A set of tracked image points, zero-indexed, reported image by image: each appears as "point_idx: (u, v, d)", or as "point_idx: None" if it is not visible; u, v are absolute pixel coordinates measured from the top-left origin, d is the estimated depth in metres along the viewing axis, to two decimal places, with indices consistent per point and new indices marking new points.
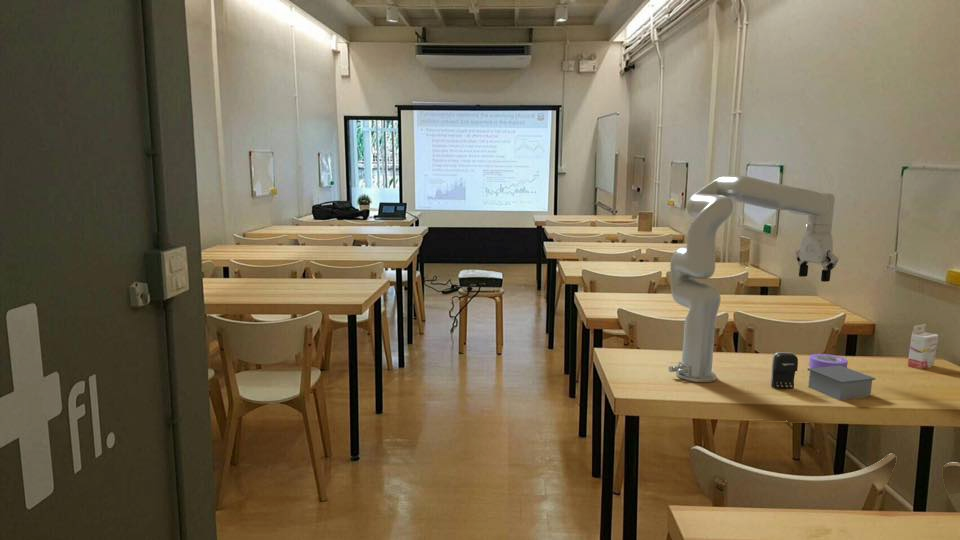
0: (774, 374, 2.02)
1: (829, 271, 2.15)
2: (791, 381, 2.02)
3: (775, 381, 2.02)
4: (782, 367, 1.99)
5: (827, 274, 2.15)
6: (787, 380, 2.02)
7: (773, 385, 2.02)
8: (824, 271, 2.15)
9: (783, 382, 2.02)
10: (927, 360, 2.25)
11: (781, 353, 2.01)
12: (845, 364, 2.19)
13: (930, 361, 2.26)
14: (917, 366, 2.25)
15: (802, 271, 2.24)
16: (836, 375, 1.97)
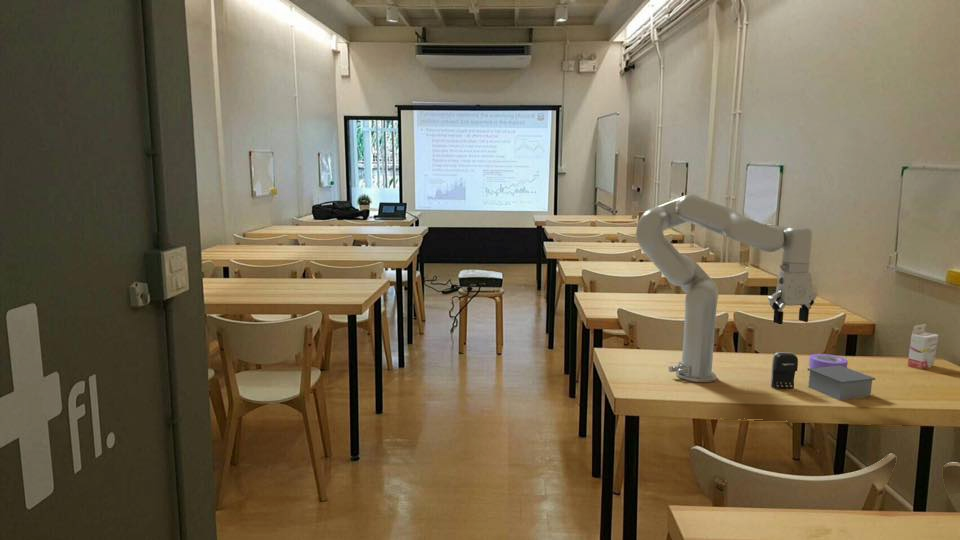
0: (774, 374, 2.02)
1: None
2: (791, 381, 2.02)
3: (775, 381, 2.02)
4: (782, 367, 1.99)
5: None
6: (787, 380, 2.02)
7: (773, 385, 2.02)
8: None
9: (783, 382, 2.02)
10: (927, 360, 2.25)
11: (781, 353, 2.01)
12: (845, 364, 2.19)
13: (930, 361, 2.26)
14: (917, 366, 2.25)
15: None
16: (836, 375, 1.97)
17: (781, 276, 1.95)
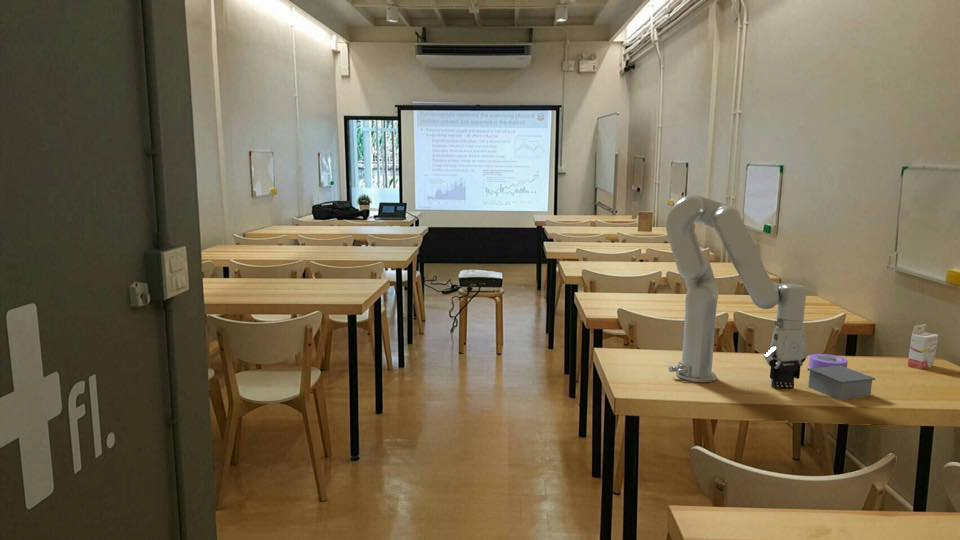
0: None
1: None
2: (791, 381, 2.02)
3: (775, 381, 2.02)
4: (782, 367, 1.99)
5: None
6: (787, 380, 2.02)
7: (773, 385, 2.02)
8: None
9: (783, 382, 2.02)
10: (927, 360, 2.25)
11: None
12: (845, 364, 2.19)
13: (930, 361, 2.26)
14: (917, 366, 2.25)
15: None
16: (836, 375, 1.97)
17: (776, 332, 1.98)
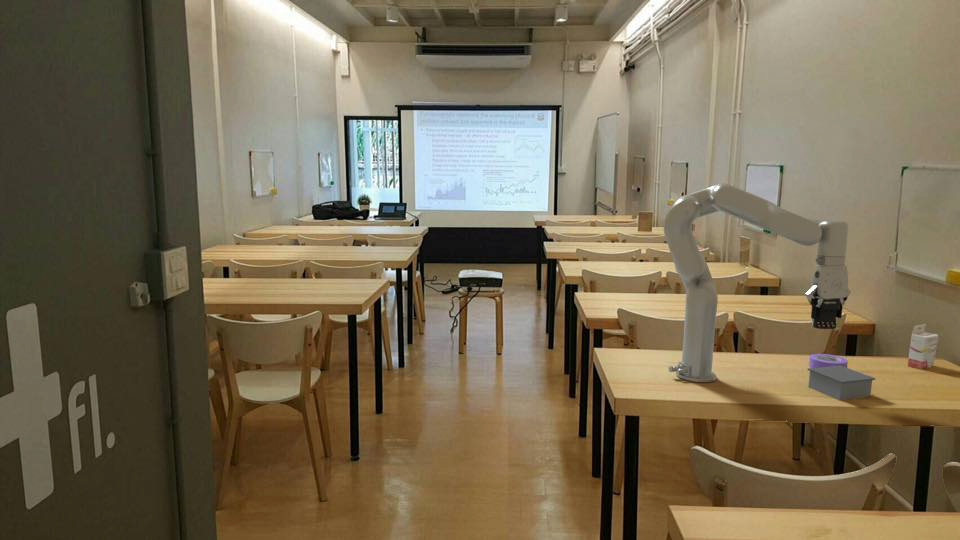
0: None
1: None
2: (833, 321, 1.97)
3: (816, 321, 1.98)
4: (824, 305, 1.95)
5: None
6: (829, 320, 1.97)
7: (814, 325, 1.97)
8: None
9: (825, 322, 1.97)
10: (927, 360, 2.25)
11: None
12: (845, 364, 2.19)
13: (930, 361, 2.26)
14: (917, 366, 2.25)
15: None
16: (836, 375, 1.97)
17: (817, 270, 1.94)
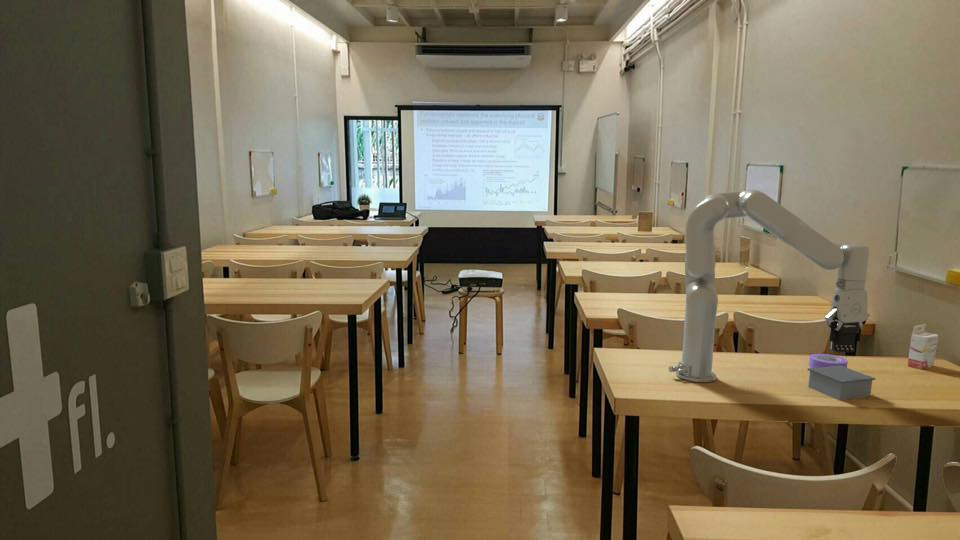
0: None
1: None
2: (852, 344, 1.98)
3: (835, 344, 1.98)
4: (843, 329, 1.95)
5: None
6: (847, 343, 1.98)
7: (833, 348, 1.98)
8: None
9: (843, 345, 1.98)
10: (927, 360, 2.25)
11: None
12: (845, 364, 2.19)
13: (930, 361, 2.26)
14: (917, 366, 2.25)
15: None
16: (836, 375, 1.97)
17: (837, 293, 1.94)
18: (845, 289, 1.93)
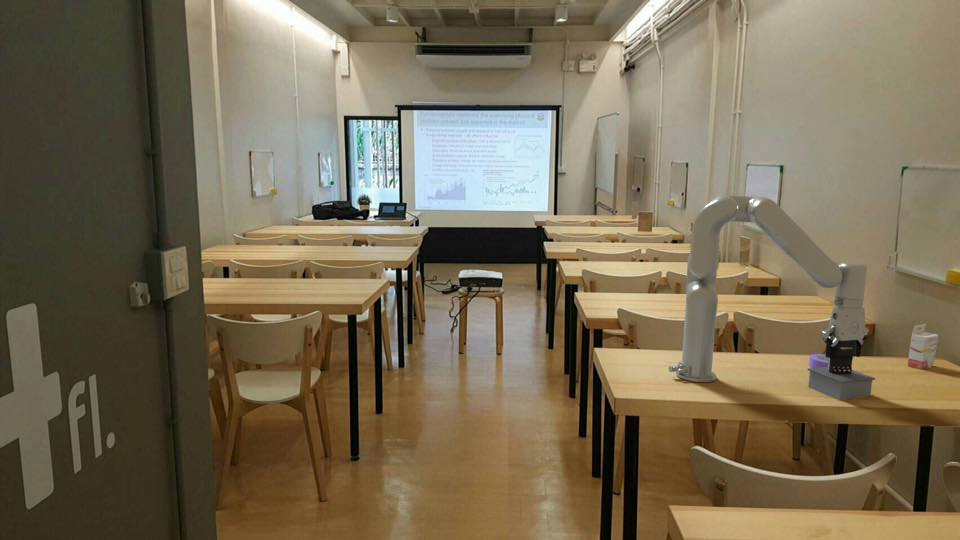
0: None
1: None
2: (849, 365, 1.99)
3: (832, 365, 1.99)
4: (840, 351, 1.97)
5: None
6: (845, 364, 1.99)
7: (830, 369, 1.99)
8: None
9: (840, 366, 1.99)
10: (927, 360, 2.25)
11: None
12: None
13: (930, 361, 2.26)
14: (917, 366, 2.25)
15: None
16: (836, 375, 1.97)
17: (835, 311, 1.95)
18: (843, 307, 1.93)
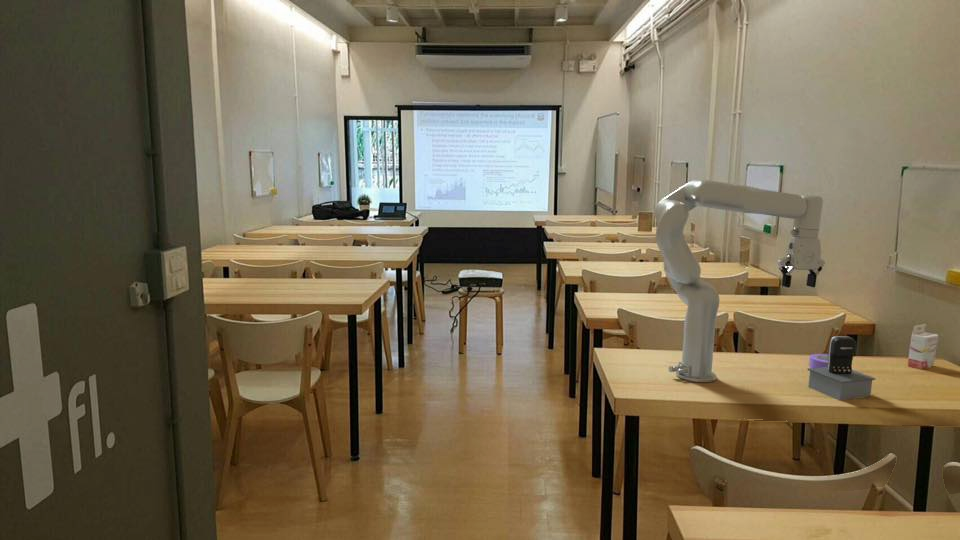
0: (831, 358, 1.99)
1: None
2: (849, 365, 1.99)
3: (832, 365, 1.99)
4: (840, 351, 1.97)
5: None
6: (845, 364, 1.99)
7: (830, 369, 1.99)
8: None
9: (840, 366, 1.99)
10: (927, 360, 2.25)
11: (839, 337, 1.98)
12: None
13: (930, 361, 2.26)
14: (917, 366, 2.25)
15: None
16: (836, 375, 1.97)
17: (791, 241, 2.04)
18: (799, 237, 2.02)
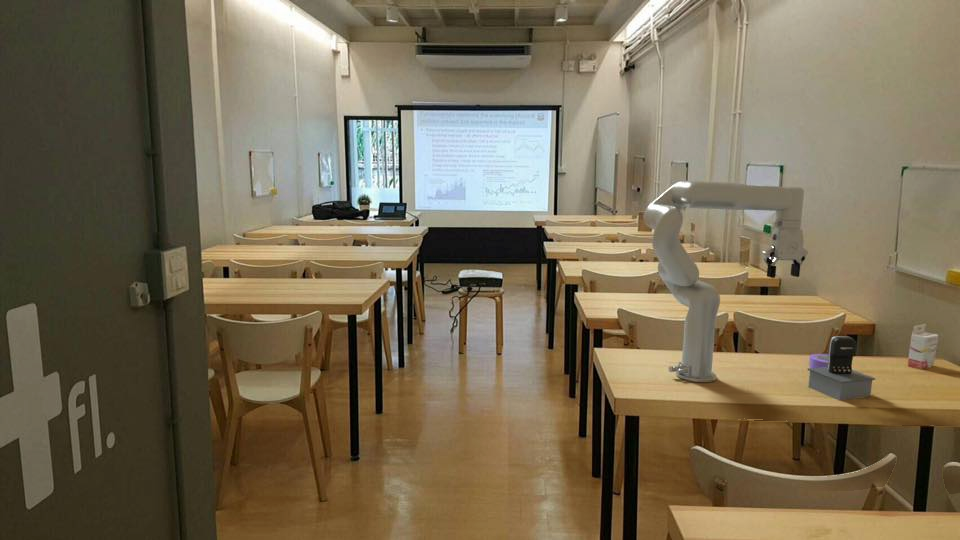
0: (831, 358, 1.99)
1: None
2: (849, 365, 1.99)
3: (832, 365, 1.99)
4: (840, 351, 1.97)
5: None
6: (845, 364, 1.99)
7: (830, 369, 1.99)
8: None
9: (840, 366, 1.99)
10: (927, 360, 2.25)
11: (839, 337, 1.98)
12: None
13: (930, 361, 2.26)
14: (917, 366, 2.25)
15: None
16: (836, 375, 1.97)
17: (774, 233, 2.08)
18: (782, 228, 2.07)
